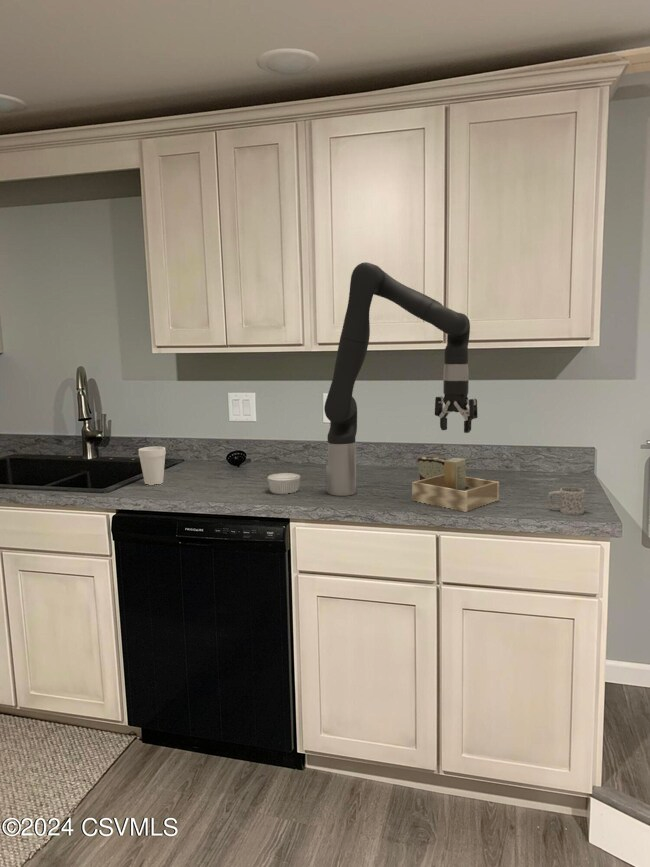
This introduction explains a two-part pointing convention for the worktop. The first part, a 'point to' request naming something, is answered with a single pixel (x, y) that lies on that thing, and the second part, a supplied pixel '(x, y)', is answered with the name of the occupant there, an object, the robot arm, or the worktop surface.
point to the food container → (430, 466)
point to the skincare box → (455, 473)
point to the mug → (569, 500)
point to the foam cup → (152, 464)
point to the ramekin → (284, 483)
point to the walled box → (455, 493)
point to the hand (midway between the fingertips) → (455, 431)
